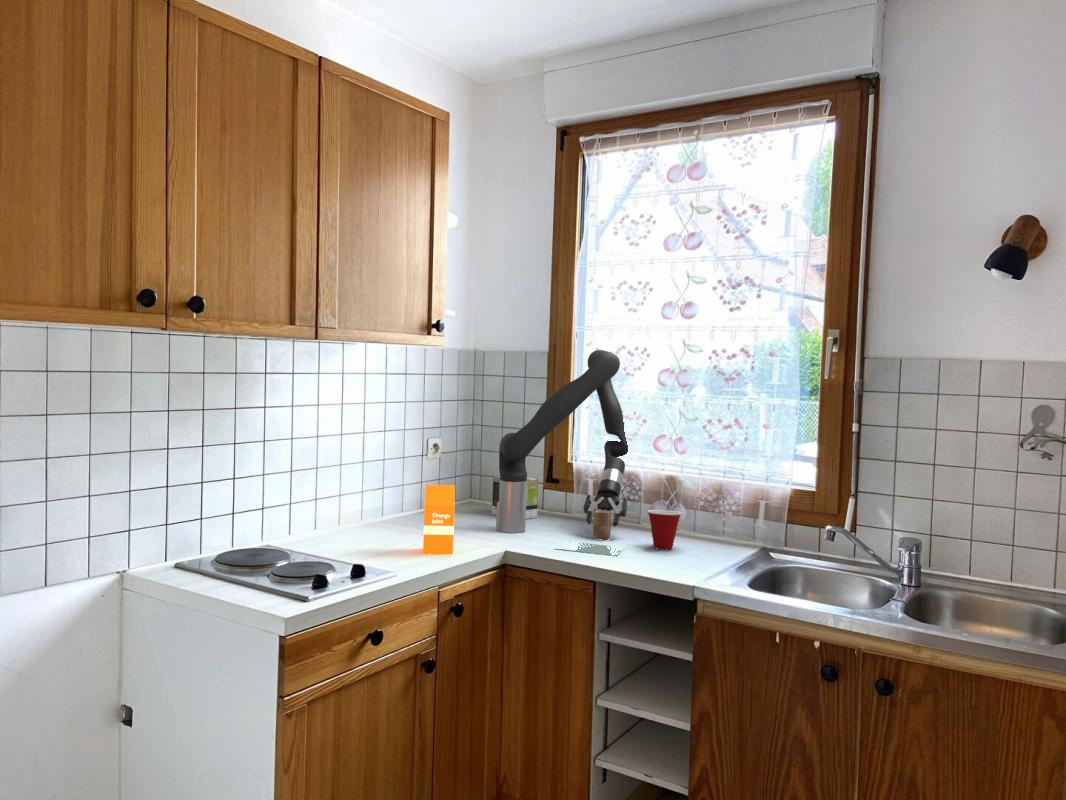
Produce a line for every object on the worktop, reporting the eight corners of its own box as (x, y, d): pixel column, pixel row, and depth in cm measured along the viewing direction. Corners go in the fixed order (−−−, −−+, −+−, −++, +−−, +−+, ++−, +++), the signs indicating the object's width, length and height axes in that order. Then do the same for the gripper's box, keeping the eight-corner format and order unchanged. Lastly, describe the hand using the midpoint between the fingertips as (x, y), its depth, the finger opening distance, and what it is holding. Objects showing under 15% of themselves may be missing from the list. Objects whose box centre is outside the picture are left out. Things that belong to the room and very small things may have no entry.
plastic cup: (678, 545, 254) (680, 508, 254) (681, 552, 243) (683, 514, 243) (645, 543, 255) (646, 506, 255) (646, 550, 244) (648, 512, 244)
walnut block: (592, 539, 258) (593, 512, 258) (595, 536, 262) (596, 510, 262) (607, 540, 257) (608, 513, 257) (610, 538, 261) (611, 511, 260)
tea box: (538, 517, 292) (539, 478, 292) (519, 521, 285) (520, 480, 284) (509, 511, 303) (511, 473, 302) (490, 514, 295) (492, 475, 295)
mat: (553, 549, 242) (553, 548, 242) (564, 541, 253) (564, 540, 253) (616, 556, 236) (616, 555, 236) (625, 548, 247) (625, 547, 247)
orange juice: (424, 548, 237) (426, 482, 236) (453, 548, 238) (455, 483, 237) (422, 554, 229) (424, 486, 228) (453, 555, 230) (455, 487, 229)
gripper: (588, 476, 269) (578, 515, 258) (629, 479, 264) (621, 519, 254) (592, 489, 274) (582, 528, 263) (632, 493, 269) (624, 532, 259)
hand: (601, 524), depth 259 cm, fingers open, 8 cm apart
